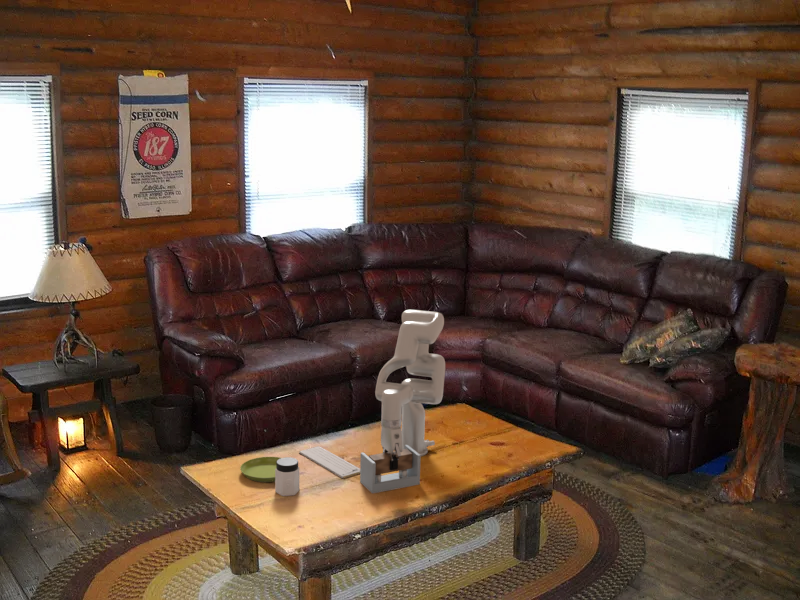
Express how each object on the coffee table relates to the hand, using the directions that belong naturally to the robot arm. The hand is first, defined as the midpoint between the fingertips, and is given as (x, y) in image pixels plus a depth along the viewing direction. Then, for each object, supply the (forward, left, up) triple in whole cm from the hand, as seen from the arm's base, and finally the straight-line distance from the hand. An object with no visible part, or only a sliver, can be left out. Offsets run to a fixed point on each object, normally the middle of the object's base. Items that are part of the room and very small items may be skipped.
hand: (390, 466), depth 349 cm
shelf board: (0, 0, -1) cm, 1 cm away
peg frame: (0, 0, -7) cm, 7 cm away
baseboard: (+13, -27, -8) cm, 31 cm away
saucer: (+40, -27, -7) cm, 49 cm away
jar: (+38, -9, -7) cm, 40 cm away
